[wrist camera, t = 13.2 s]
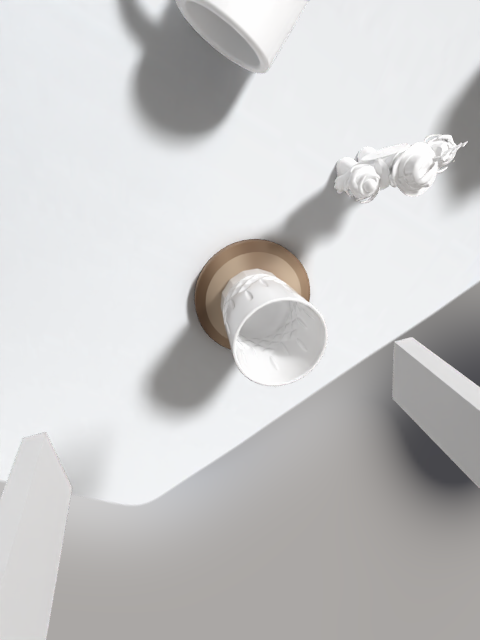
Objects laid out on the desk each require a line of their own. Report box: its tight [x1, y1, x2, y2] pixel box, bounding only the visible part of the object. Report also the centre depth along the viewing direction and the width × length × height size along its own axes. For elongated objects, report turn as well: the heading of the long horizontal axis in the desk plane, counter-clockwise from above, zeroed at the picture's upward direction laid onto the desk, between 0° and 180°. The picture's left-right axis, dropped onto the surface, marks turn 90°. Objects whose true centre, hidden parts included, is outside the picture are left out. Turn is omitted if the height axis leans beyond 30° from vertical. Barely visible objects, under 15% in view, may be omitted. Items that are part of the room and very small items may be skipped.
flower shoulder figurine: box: [334, 134, 468, 203], centre depth 34 cm, size 9×4×12 cm, turn 109°
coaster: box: [195, 239, 310, 349], centre depth 42 cm, size 12×12×1 cm
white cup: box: [220, 268, 328, 386], centre depth 37 cm, size 8×8×10 cm
